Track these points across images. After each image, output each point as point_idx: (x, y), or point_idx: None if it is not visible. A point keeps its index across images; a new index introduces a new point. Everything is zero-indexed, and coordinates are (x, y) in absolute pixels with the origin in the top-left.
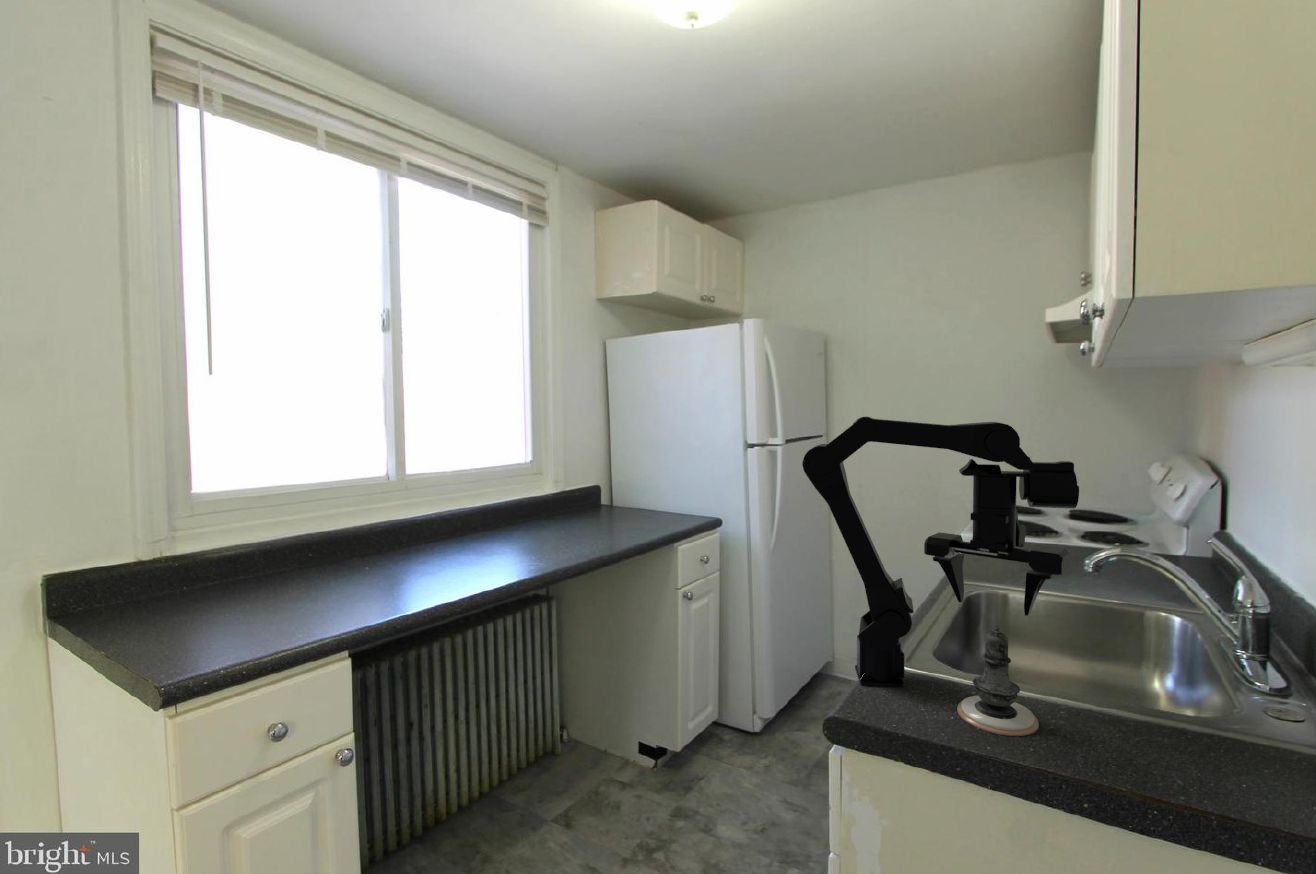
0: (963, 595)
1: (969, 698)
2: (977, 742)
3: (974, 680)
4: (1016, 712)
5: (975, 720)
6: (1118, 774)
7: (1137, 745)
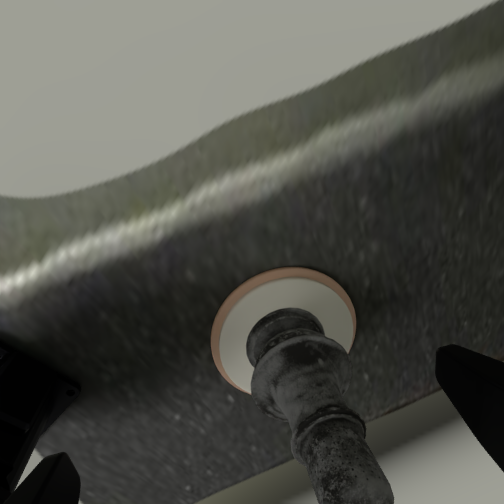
0: (48, 489)
1: (224, 344)
2: None
3: (260, 405)
4: (321, 328)
5: None
6: (473, 338)
7: (491, 223)
